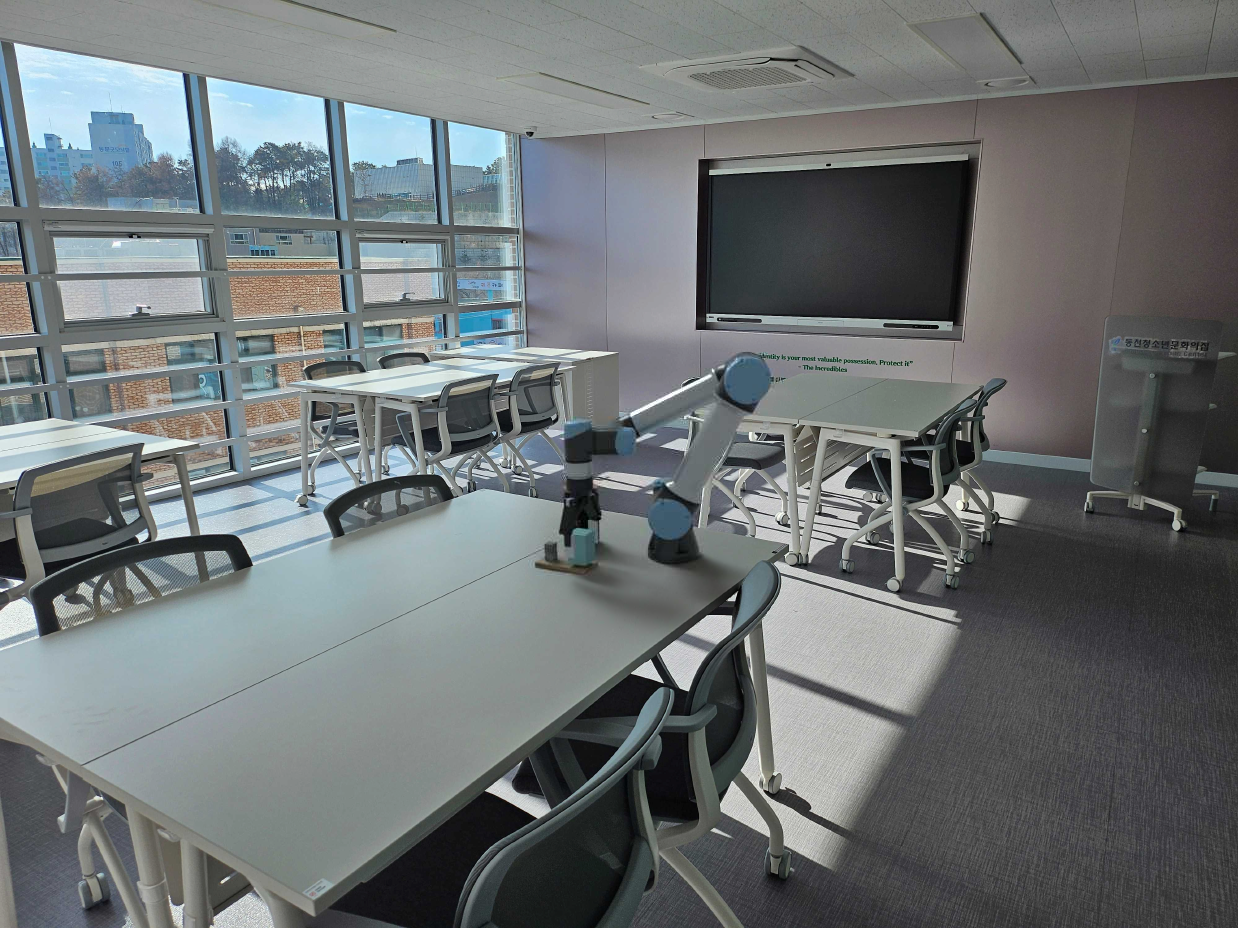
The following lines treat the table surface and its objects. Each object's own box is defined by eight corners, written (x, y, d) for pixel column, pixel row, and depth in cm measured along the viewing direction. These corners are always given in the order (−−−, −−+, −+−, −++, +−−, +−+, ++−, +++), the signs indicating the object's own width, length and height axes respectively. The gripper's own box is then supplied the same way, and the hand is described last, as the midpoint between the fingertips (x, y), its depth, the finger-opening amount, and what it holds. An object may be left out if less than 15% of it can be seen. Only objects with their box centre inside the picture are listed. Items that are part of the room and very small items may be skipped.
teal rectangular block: (577, 556, 237) (577, 527, 235) (595, 559, 235) (594, 530, 233) (568, 562, 233) (567, 533, 231) (585, 565, 230) (584, 535, 228)
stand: (549, 557, 243) (548, 524, 241) (597, 565, 236) (597, 531, 234) (535, 566, 237) (533, 532, 234) (584, 574, 229) (583, 539, 227)
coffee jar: (559, 540, 259) (558, 484, 255) (591, 535, 263) (590, 480, 259) (572, 550, 250) (570, 492, 245) (605, 545, 254) (603, 488, 250)
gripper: (589, 465, 241) (591, 535, 245) (543, 485, 219) (547, 561, 224) (612, 467, 237) (614, 538, 242) (568, 488, 216) (571, 565, 220)
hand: (582, 549), depth 233 cm, fingers open, 13 cm apart
